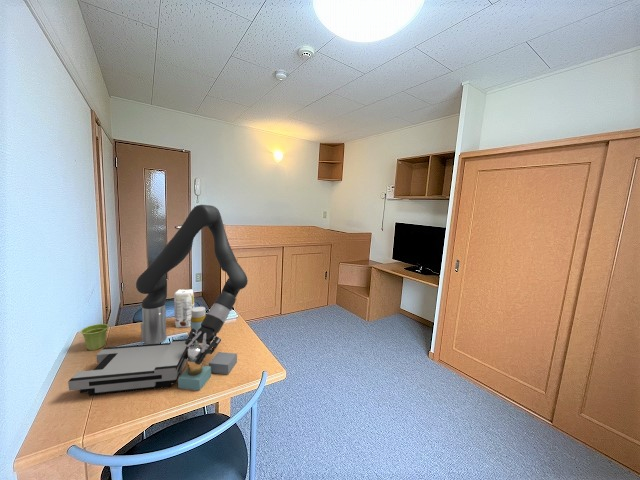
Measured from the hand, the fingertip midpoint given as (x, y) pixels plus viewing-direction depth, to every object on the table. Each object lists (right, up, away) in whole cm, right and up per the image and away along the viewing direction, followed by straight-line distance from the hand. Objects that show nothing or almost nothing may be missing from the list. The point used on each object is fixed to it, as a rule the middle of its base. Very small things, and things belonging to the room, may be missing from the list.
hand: (190, 361), depth 95 cm
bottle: (-12, -5, +34) cm, 36 cm away
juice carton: (-26, -2, +47) cm, 54 cm away
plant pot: (-54, -4, +23) cm, 59 cm away
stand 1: (0, -9, +3) cm, 9 cm away
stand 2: (+7, -8, +12) cm, 16 cm away
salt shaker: (+1, -5, +2) cm, 5 cm away
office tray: (-23, -8, +5) cm, 25 cm away
